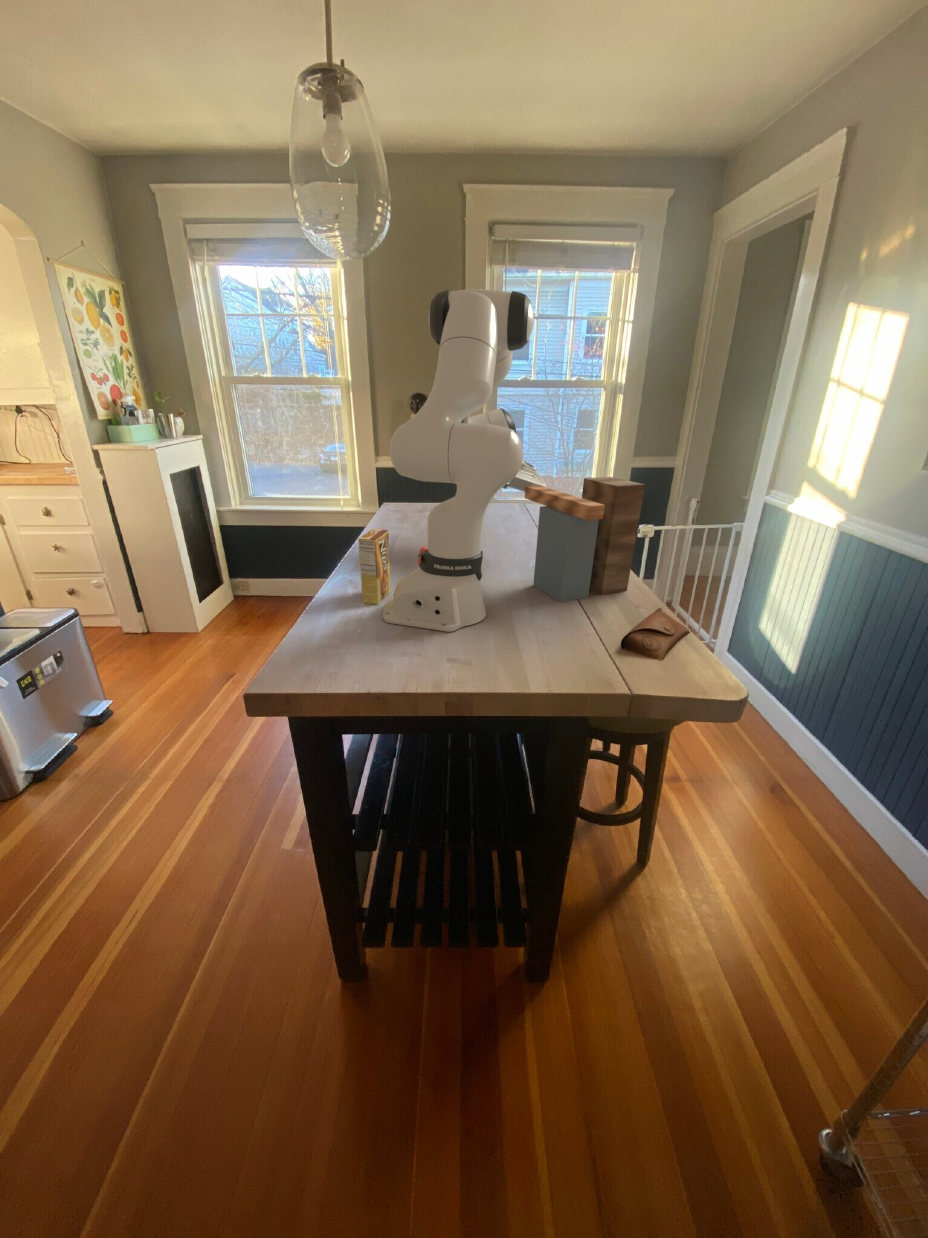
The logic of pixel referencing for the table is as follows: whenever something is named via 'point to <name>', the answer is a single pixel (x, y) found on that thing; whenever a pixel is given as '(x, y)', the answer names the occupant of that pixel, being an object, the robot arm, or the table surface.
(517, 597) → the table surface
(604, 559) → the tall stand
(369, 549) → the candy box
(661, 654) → the sunglasses case
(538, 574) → the low stand
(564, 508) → the bar
